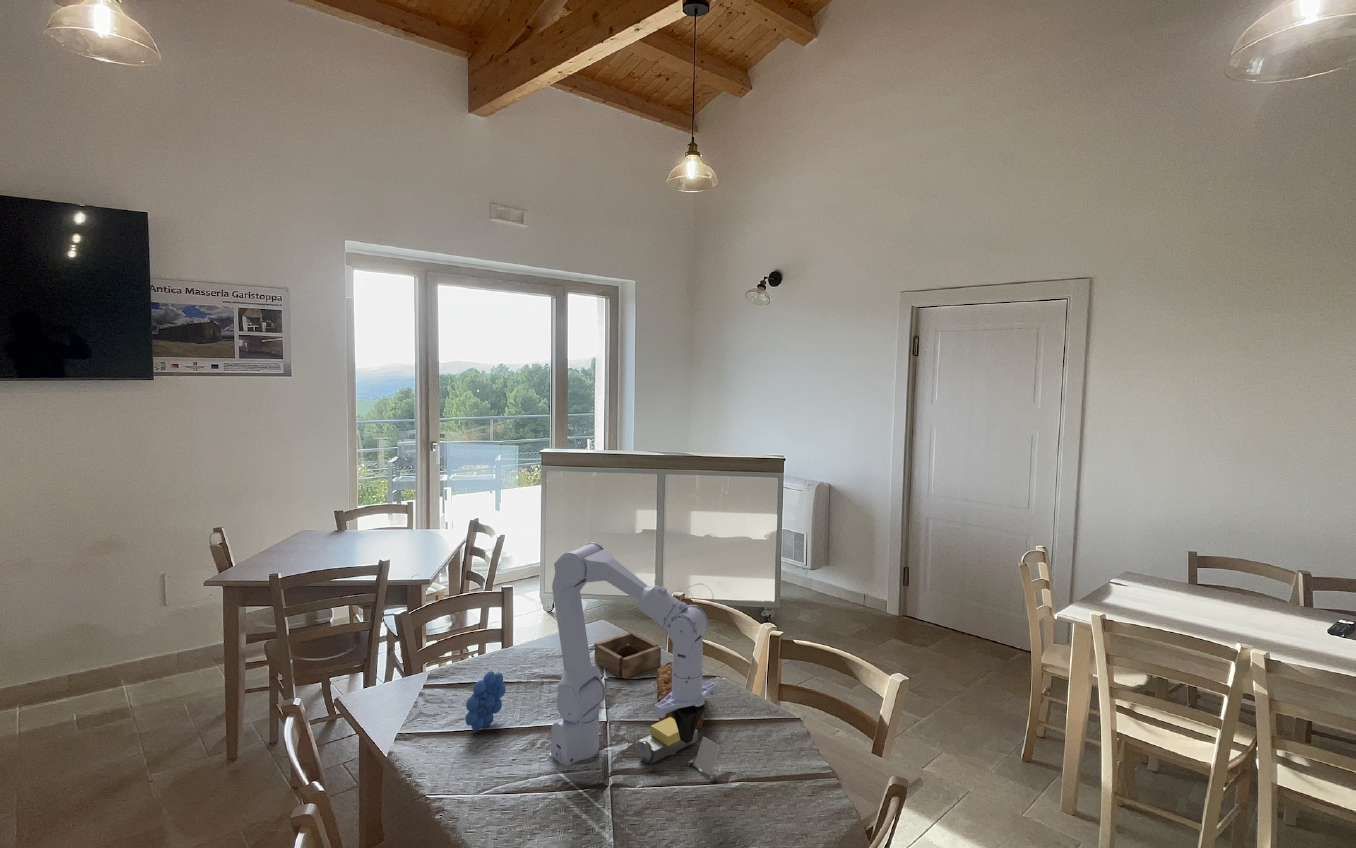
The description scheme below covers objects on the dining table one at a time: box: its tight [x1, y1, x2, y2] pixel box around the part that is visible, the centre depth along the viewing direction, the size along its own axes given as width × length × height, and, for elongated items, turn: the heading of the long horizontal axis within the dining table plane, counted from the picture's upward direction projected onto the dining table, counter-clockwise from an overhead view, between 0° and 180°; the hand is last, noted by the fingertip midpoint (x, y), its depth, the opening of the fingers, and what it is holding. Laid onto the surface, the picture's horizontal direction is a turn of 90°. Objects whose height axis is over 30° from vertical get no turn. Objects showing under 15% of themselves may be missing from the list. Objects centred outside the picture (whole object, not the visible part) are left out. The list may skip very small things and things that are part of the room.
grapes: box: [464, 670, 507, 732], centre depth 153 cm, size 12×7×12 cm, turn 152°
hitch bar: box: [636, 728, 718, 783], centre depth 138 cm, size 13×16×5 cm
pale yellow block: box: [650, 717, 680, 756], centre depth 142 cm, size 5×5×6 cm
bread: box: [656, 661, 705, 729], centre depth 160 cm, size 19×11×10 cm, turn 2°
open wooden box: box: [594, 632, 662, 679], centre depth 186 cm, size 13×13×5 cm
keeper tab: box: [689, 736, 721, 781], centre depth 136 cm, size 6×6×1 cm
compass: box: [616, 643, 639, 658], centre depth 184 cm, size 8×8×7 cm
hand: (685, 740), depth 131 cm, fingers closed
